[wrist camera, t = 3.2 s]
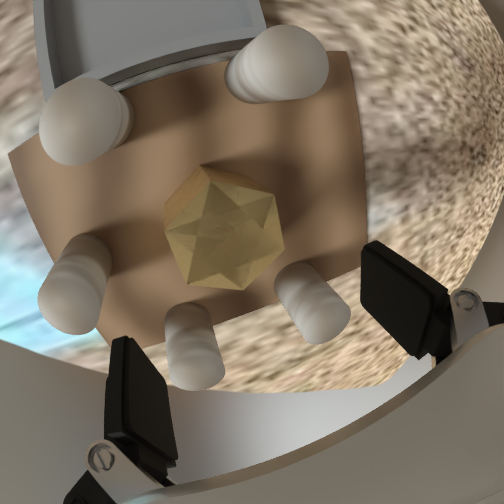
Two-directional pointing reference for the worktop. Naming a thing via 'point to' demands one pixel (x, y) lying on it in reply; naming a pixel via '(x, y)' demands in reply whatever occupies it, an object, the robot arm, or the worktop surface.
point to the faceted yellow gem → (222, 228)
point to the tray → (135, 35)
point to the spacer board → (175, 173)
